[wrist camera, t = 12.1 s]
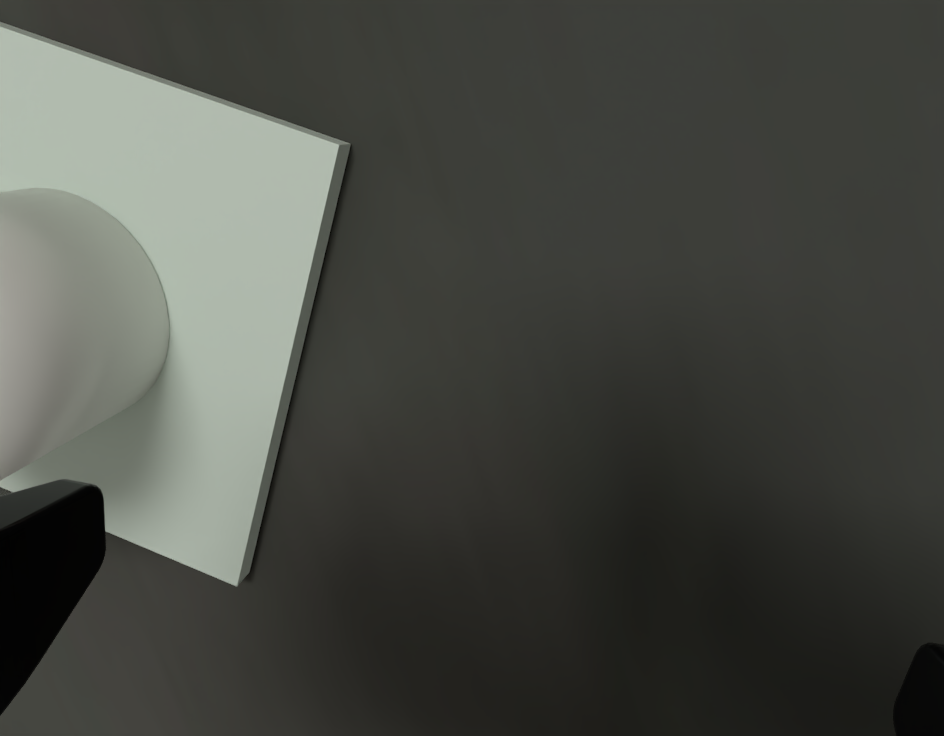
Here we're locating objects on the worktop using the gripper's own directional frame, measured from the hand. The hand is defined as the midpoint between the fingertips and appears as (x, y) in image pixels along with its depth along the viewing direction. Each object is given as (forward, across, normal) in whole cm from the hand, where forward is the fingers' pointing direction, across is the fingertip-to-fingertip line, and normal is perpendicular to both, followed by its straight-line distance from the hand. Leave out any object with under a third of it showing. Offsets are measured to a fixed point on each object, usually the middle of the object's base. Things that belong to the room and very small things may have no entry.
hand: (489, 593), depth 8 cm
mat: (+14, +14, +2) cm, 19 cm away
